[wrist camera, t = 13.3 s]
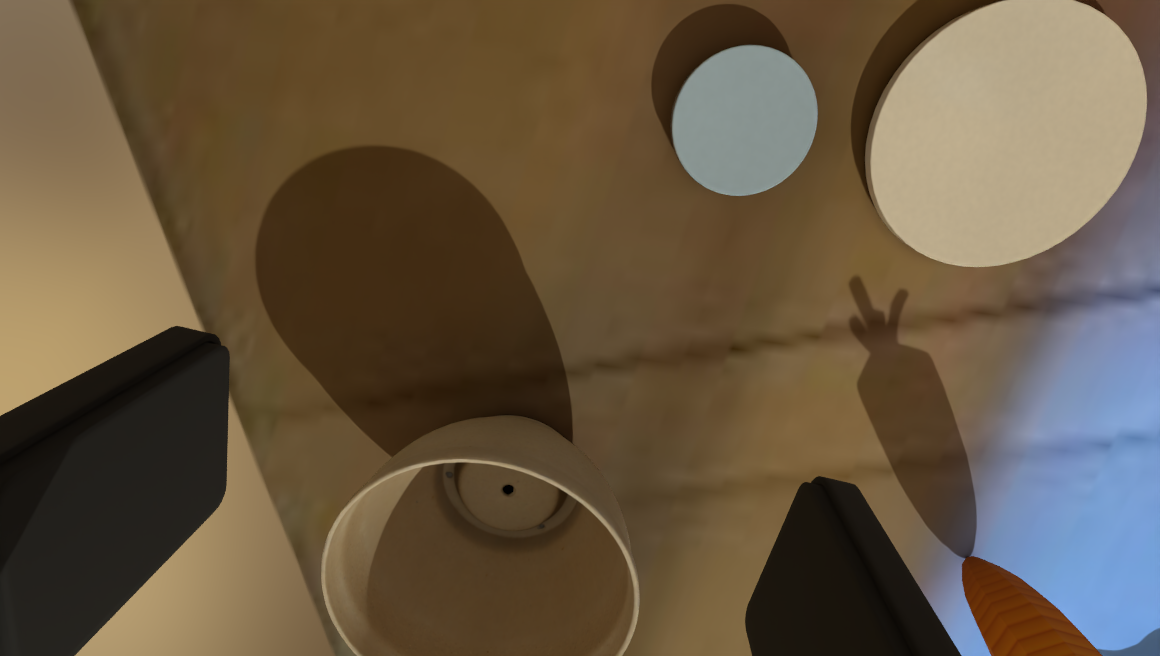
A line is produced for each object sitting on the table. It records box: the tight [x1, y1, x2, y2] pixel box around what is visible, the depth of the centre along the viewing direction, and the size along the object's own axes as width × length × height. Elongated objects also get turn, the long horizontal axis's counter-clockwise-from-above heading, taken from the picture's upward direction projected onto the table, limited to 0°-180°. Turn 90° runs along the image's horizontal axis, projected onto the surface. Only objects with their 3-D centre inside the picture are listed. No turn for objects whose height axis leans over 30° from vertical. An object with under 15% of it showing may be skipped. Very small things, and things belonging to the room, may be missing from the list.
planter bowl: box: [321, 415, 639, 656], centre depth 36 cm, size 16×16×11 cm
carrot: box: [962, 556, 1102, 656], centre depth 34 cm, size 5×5×15 cm
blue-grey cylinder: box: [670, 45, 818, 196], centre depth 31 cm, size 7×7×2 cm
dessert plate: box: [865, 0, 1147, 267], centre depth 31 cm, size 13×13×1 cm
